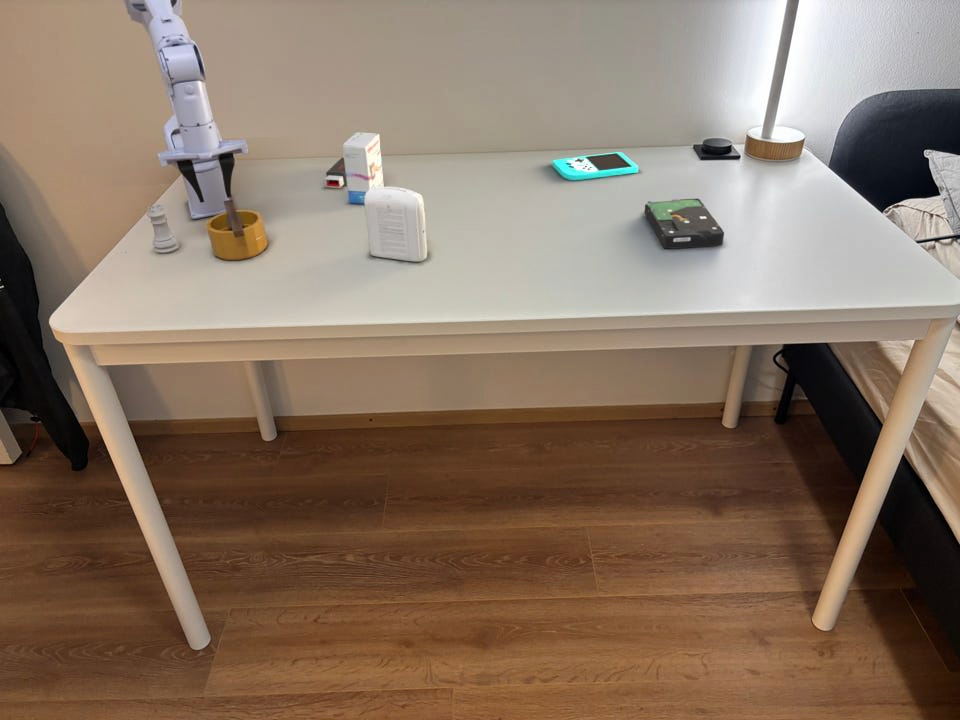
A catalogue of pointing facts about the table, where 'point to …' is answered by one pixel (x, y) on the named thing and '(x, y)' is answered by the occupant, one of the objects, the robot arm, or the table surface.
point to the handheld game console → (594, 166)
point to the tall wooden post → (233, 219)
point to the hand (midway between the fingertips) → (215, 198)
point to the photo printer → (396, 223)
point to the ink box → (362, 165)
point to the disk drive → (683, 223)
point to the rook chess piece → (162, 231)
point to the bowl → (239, 246)
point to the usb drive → (336, 175)
